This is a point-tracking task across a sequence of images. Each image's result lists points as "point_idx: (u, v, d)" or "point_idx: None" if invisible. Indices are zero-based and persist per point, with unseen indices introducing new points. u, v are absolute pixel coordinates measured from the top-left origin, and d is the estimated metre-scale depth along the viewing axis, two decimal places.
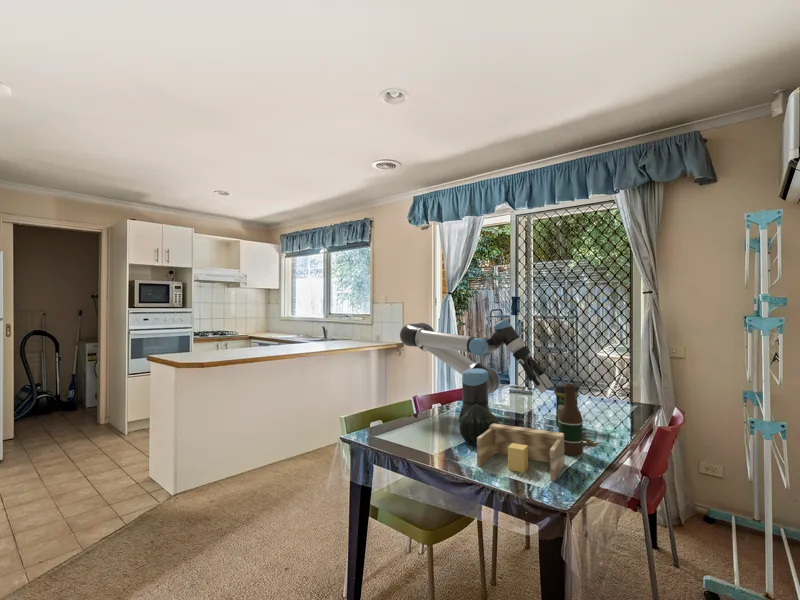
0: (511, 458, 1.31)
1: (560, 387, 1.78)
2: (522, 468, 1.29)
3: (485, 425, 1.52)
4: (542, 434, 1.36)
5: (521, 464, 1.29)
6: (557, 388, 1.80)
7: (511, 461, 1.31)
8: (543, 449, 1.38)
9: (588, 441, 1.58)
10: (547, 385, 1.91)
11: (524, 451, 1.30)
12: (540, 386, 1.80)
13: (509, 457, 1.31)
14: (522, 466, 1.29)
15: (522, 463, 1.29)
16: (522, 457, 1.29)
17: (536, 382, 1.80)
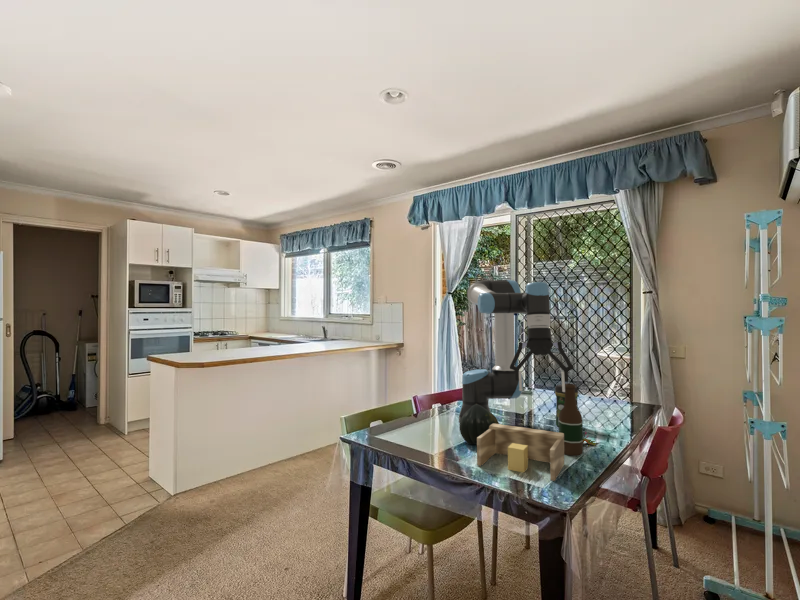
0: (511, 458, 1.31)
1: (560, 387, 1.78)
2: (522, 468, 1.29)
3: (485, 425, 1.52)
4: (542, 434, 1.36)
5: (521, 464, 1.29)
6: (557, 388, 1.80)
7: (511, 461, 1.31)
8: (543, 449, 1.38)
9: (588, 441, 1.58)
10: None
11: (524, 451, 1.30)
12: (519, 383, 1.41)
13: (509, 457, 1.31)
14: (522, 466, 1.29)
15: (522, 463, 1.29)
16: (522, 457, 1.29)
17: None
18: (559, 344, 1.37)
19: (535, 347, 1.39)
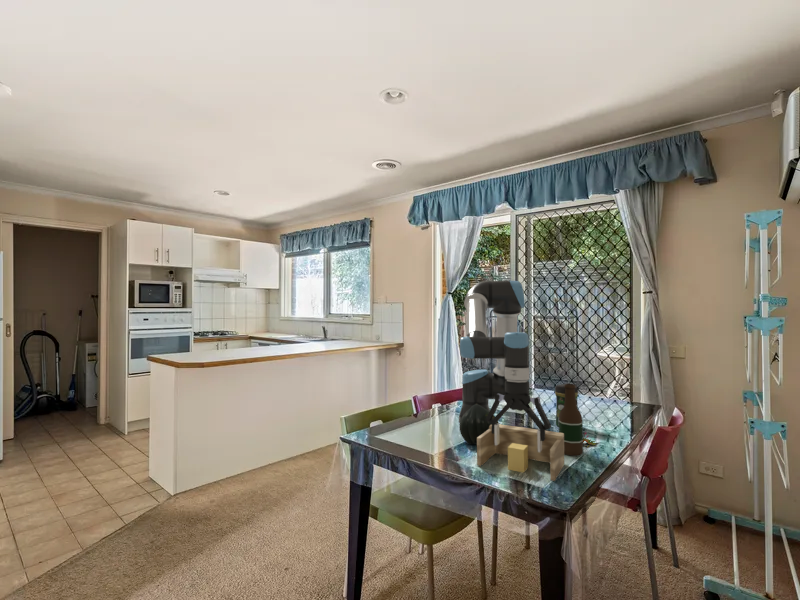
0: (511, 458, 1.31)
1: (560, 387, 1.78)
2: (522, 468, 1.29)
3: (485, 425, 1.52)
4: None
5: (521, 464, 1.29)
6: (557, 388, 1.80)
7: (511, 461, 1.31)
8: (543, 449, 1.38)
9: (588, 441, 1.58)
10: None
11: (524, 451, 1.30)
12: None
13: (509, 457, 1.31)
14: (522, 466, 1.29)
15: (522, 463, 1.29)
16: (522, 457, 1.29)
17: None
18: (536, 401, 1.28)
19: (511, 402, 1.32)
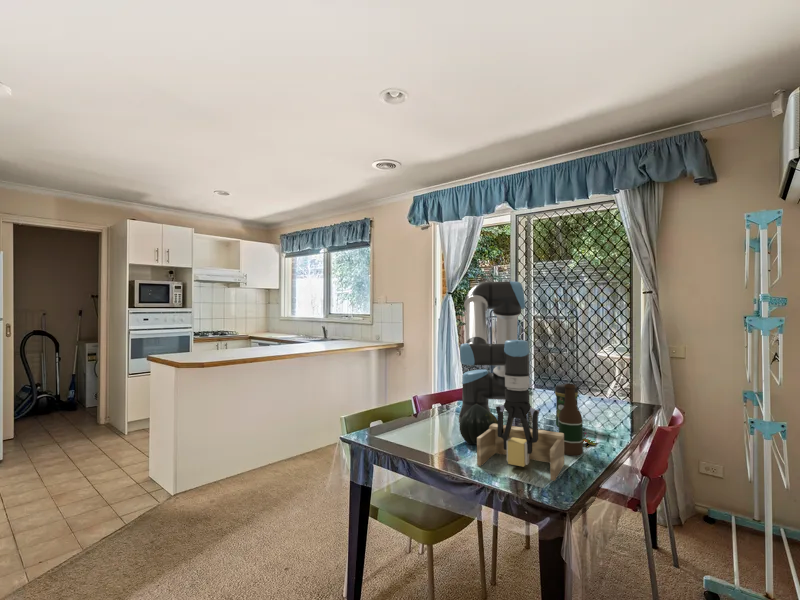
0: (511, 452, 1.31)
1: (560, 387, 1.78)
2: (522, 462, 1.29)
3: (485, 425, 1.52)
4: (542, 434, 1.36)
5: (521, 458, 1.29)
6: (557, 388, 1.80)
7: (511, 455, 1.31)
8: (543, 449, 1.38)
9: (587, 441, 1.58)
10: None
11: (524, 445, 1.30)
12: None
13: (509, 452, 1.31)
14: (522, 460, 1.29)
15: (522, 457, 1.29)
16: (522, 451, 1.29)
17: None
18: (535, 413, 1.29)
19: (511, 410, 1.32)
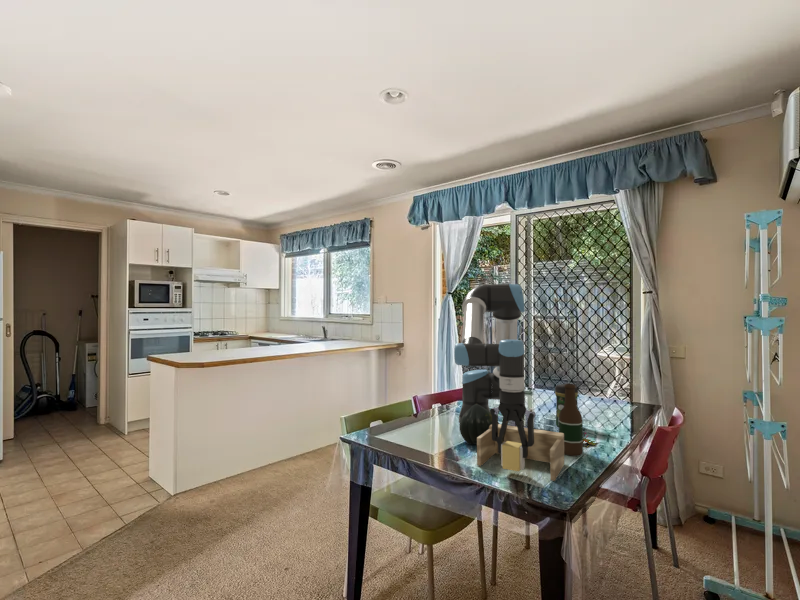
0: (506, 456, 1.26)
1: (560, 387, 1.78)
2: (517, 467, 1.24)
3: (485, 425, 1.52)
4: (542, 434, 1.36)
5: (516, 463, 1.24)
6: (557, 388, 1.80)
7: (506, 459, 1.26)
8: (543, 449, 1.38)
9: (587, 441, 1.58)
10: None
11: (519, 449, 1.25)
12: None
13: (504, 456, 1.26)
14: (517, 465, 1.24)
15: (517, 462, 1.24)
16: (517, 455, 1.24)
17: None
18: (530, 416, 1.23)
19: (506, 412, 1.27)
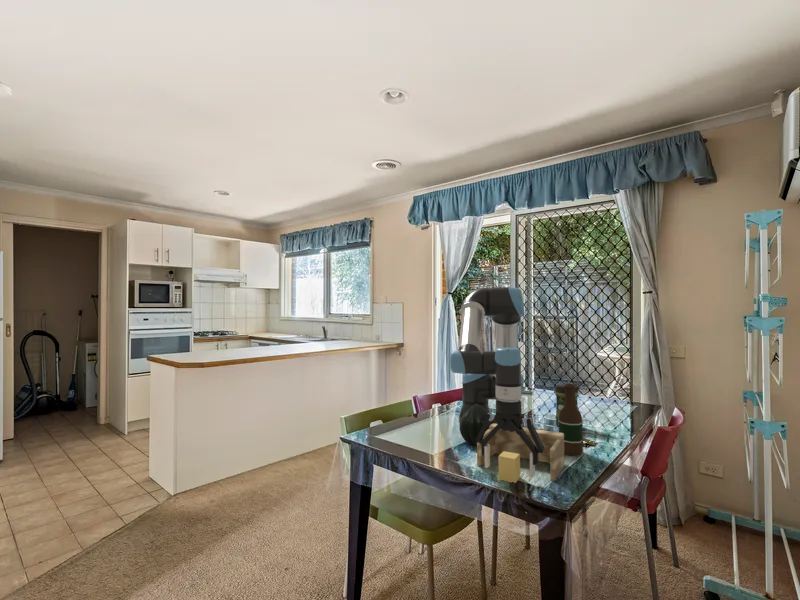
0: (502, 467, 1.23)
1: (560, 387, 1.78)
2: (513, 478, 1.21)
3: None
4: (542, 434, 1.36)
5: (512, 474, 1.21)
6: (557, 388, 1.80)
7: (502, 471, 1.23)
8: None
9: (587, 441, 1.58)
10: None
11: (516, 460, 1.22)
12: None
13: (500, 467, 1.23)
14: (513, 476, 1.21)
15: (513, 473, 1.21)
16: (513, 467, 1.21)
17: None
18: (528, 422, 1.20)
19: (502, 422, 1.24)
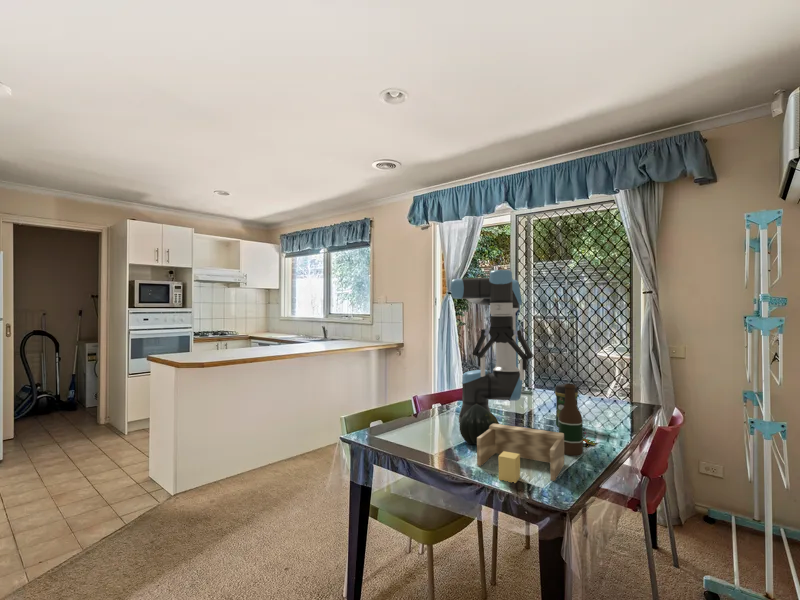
0: (502, 467, 1.23)
1: (560, 387, 1.78)
2: (514, 478, 1.21)
3: (485, 425, 1.52)
4: (542, 434, 1.36)
5: (512, 474, 1.21)
6: (557, 388, 1.80)
7: (502, 471, 1.23)
8: (543, 449, 1.38)
9: (587, 441, 1.58)
10: None
11: (516, 460, 1.22)
12: None
13: (500, 467, 1.23)
14: (513, 476, 1.21)
15: (513, 473, 1.21)
16: (513, 467, 1.21)
17: None
18: (518, 333, 1.37)
19: (495, 335, 1.40)
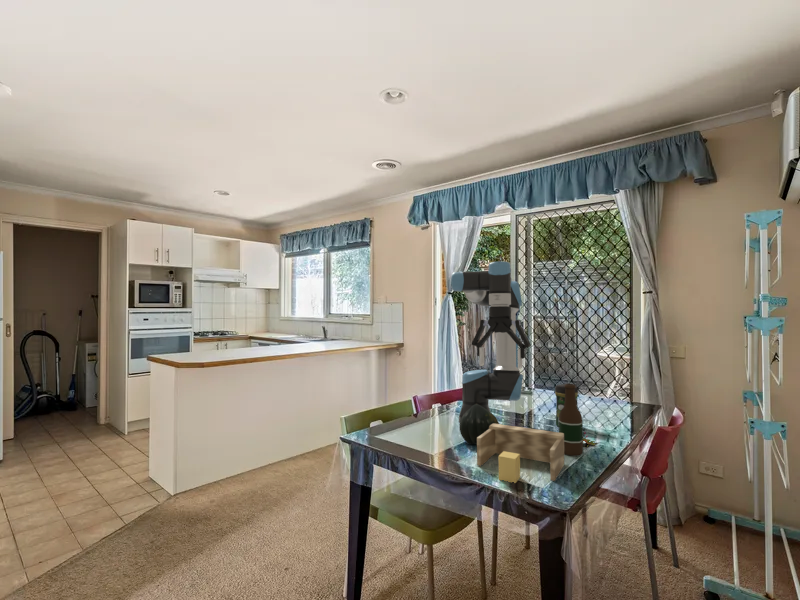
0: (502, 467, 1.23)
1: (560, 387, 1.78)
2: (514, 478, 1.21)
3: (485, 425, 1.52)
4: (542, 434, 1.36)
5: (512, 474, 1.21)
6: (557, 388, 1.80)
7: (502, 471, 1.23)
8: (543, 449, 1.38)
9: (587, 441, 1.58)
10: None
11: (516, 460, 1.22)
12: None
13: (500, 467, 1.23)
14: (514, 476, 1.21)
15: (514, 473, 1.21)
16: (514, 467, 1.21)
17: None
18: (516, 322, 1.41)
19: (494, 325, 1.44)
